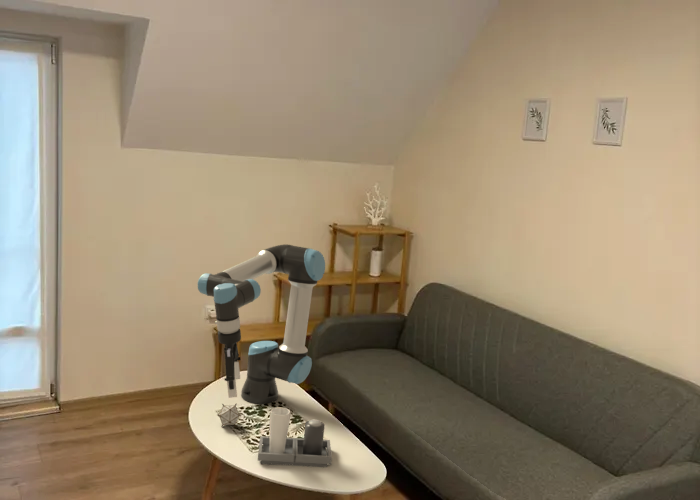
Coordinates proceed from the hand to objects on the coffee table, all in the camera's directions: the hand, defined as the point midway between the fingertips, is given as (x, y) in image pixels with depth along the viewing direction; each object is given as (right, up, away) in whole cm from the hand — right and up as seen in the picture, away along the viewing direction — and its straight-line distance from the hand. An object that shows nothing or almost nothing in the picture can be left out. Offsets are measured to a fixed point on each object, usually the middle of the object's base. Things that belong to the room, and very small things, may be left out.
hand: (234, 387), depth 223 cm
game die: (-6, -18, +18) cm, 26 cm away
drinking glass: (+14, -22, 0) cm, 26 cm away
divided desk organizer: (+20, -24, +1) cm, 31 cm away
